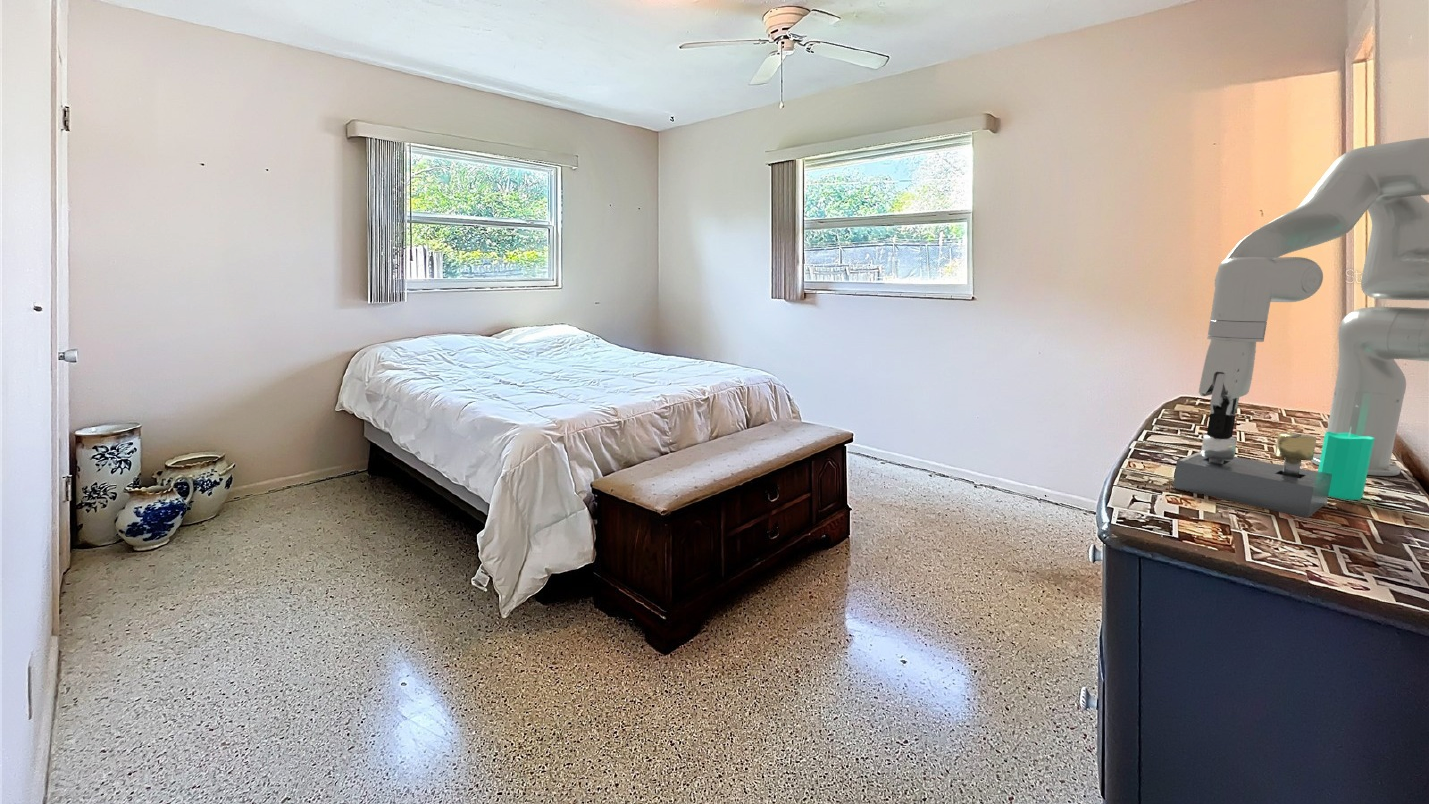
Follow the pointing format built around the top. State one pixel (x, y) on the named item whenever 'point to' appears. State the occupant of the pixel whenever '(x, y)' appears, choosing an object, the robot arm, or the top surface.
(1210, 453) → the knob
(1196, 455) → the mount
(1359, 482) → the candle
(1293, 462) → the knob
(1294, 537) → the top surface
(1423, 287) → the robot arm
